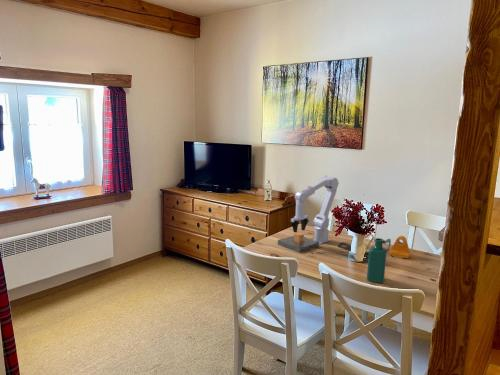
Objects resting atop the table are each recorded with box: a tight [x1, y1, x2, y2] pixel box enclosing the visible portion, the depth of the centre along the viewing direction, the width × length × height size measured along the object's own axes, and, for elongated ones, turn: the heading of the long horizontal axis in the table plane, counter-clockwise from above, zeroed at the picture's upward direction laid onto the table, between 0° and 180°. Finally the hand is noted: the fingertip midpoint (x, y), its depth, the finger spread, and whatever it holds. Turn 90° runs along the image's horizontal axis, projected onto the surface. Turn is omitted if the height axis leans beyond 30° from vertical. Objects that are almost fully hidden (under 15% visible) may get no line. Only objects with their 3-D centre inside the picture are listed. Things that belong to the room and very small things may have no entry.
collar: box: [277, 235, 320, 253], centre depth 245 cm, size 19×19×3 cm
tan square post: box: [293, 231, 305, 243], centre depth 245 cm, size 4×4×8 cm
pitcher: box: [366, 237, 392, 284], centre depth 195 cm, size 10×8×22 cm
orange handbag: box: [388, 235, 411, 259], centre depth 231 cm, size 11×7×12 cm, turn 58°
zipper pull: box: [336, 241, 369, 264], centre depth 226 cm, size 9×7×25 cm
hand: (299, 231), depth 244 cm, fingers open, 7 cm apart
